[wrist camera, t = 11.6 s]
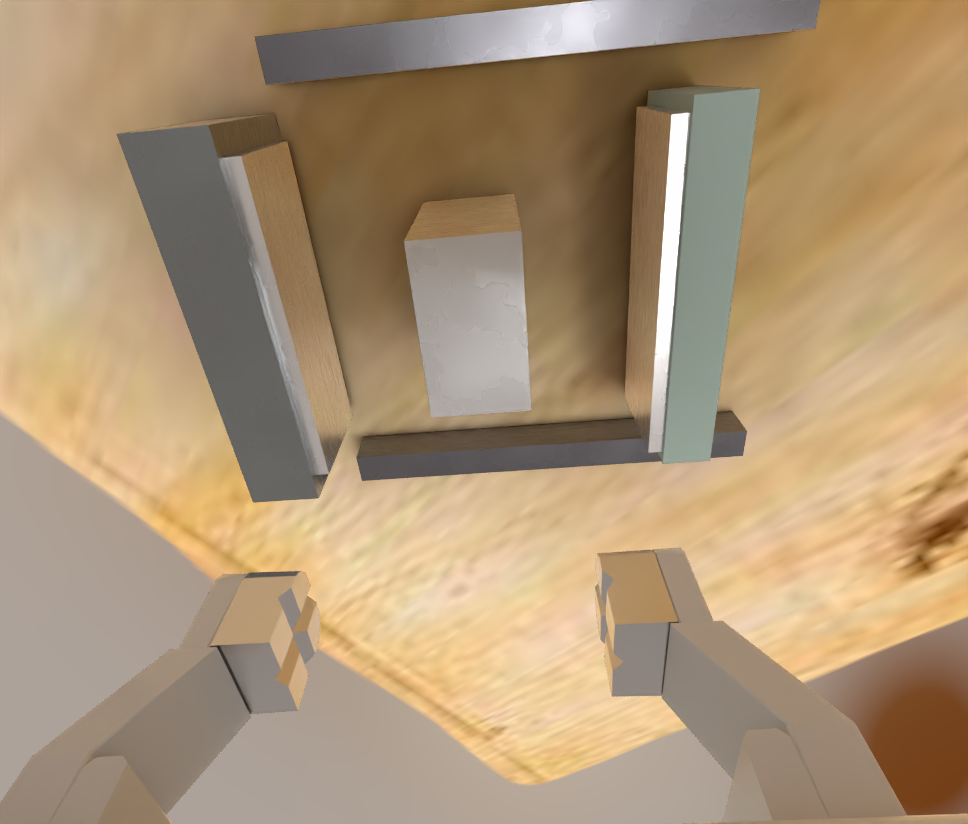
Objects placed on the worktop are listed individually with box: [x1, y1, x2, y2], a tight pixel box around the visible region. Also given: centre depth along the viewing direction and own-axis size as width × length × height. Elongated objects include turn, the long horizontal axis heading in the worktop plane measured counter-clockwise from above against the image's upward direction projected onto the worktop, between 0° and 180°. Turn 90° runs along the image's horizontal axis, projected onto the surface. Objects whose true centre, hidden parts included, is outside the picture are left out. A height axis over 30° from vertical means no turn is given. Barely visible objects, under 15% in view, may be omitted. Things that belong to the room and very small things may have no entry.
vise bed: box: [117, 0, 820, 502], centre depth 24 cm, size 24×20×6 cm
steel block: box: [404, 194, 531, 418], centre depth 24 cm, size 4×7×7 cm, turn 5°
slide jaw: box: [625, 85, 760, 464], centre depth 24 cm, size 3×14×6 cm, turn 5°
